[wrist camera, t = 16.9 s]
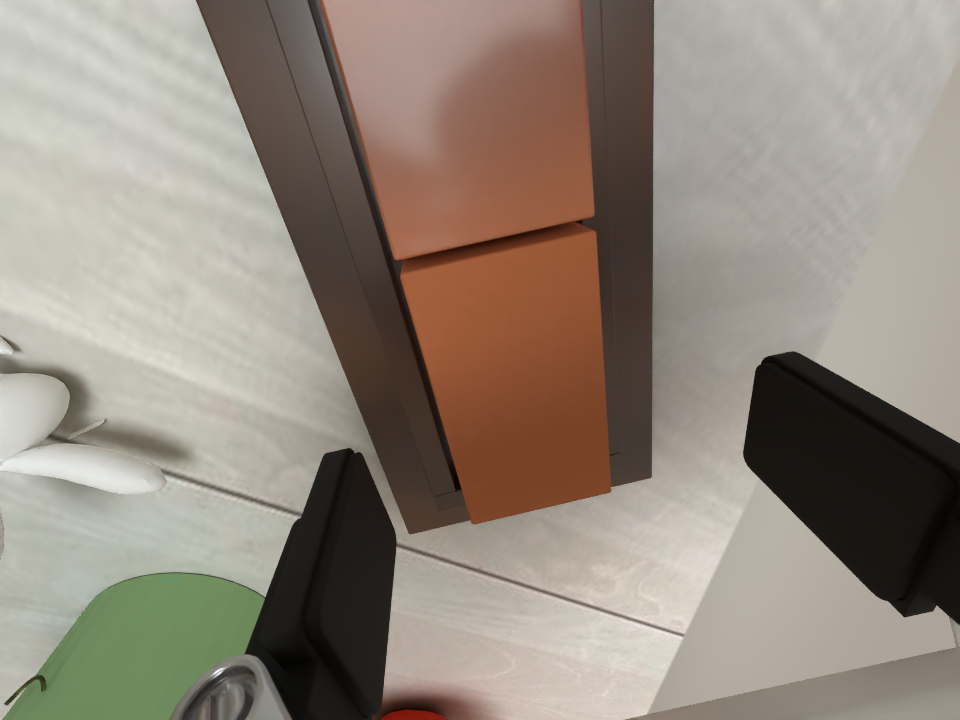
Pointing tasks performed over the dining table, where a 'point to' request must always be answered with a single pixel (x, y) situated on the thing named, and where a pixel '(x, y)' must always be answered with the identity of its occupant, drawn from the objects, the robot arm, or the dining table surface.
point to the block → (516, 366)
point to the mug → (140, 649)
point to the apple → (413, 715)
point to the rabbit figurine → (33, 416)
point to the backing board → (363, 252)
